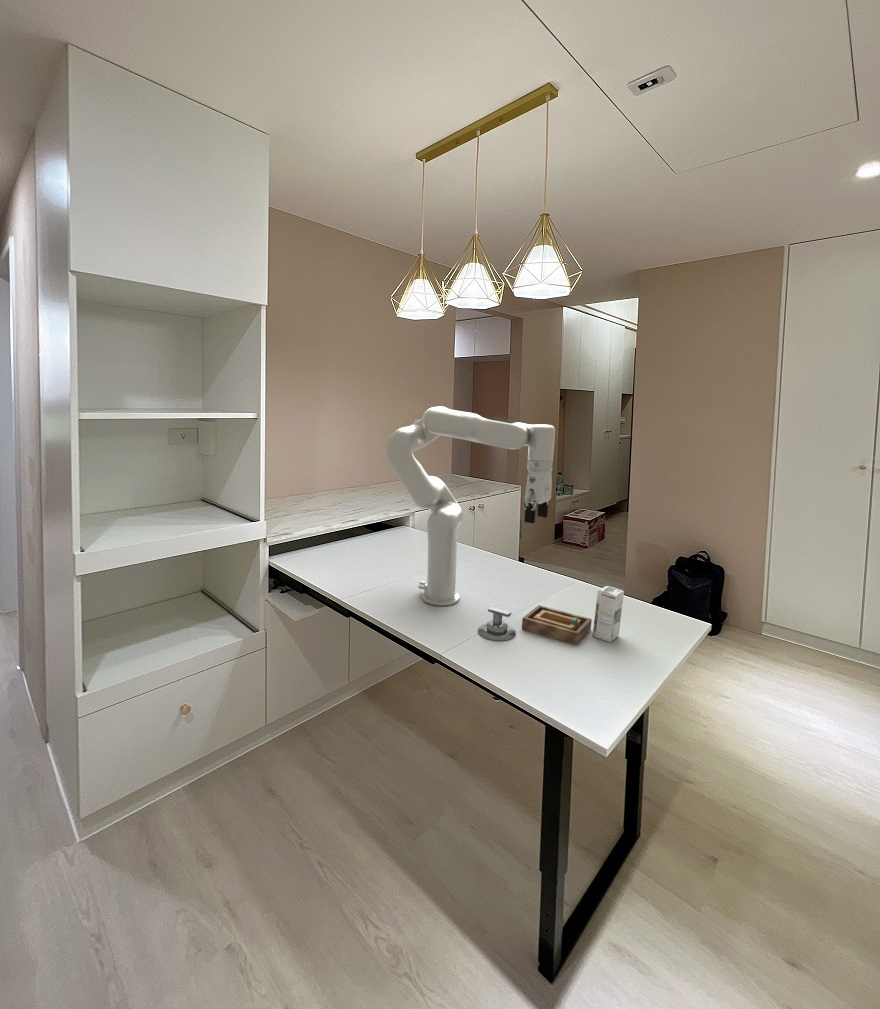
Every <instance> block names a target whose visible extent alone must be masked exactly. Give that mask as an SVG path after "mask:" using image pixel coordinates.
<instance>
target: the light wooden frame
mask: <svg viewBox="0 0 880 1009" xmlns="http://www.w3.org/2000/svg"><path fill="white" fill-rule="evenodd" d="M533 619H534V620H537V621H541V622H544V623H548V624H552V625H555V626H559V627H562V628H566V629H569V630H573V631H577V630H578V629H579V627H580V622H581V620H579V619H578V618H576V617H573V618H572V617H568V616H564V615H561V614H557V613H553V612H550V611H546V610H542V611H541V612H540V613H538V614H537V615H536V616H534V617H533Z"/></svg>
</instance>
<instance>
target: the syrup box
mask: <svg viewBox="0 0 880 1009" xmlns="http://www.w3.org/2000/svg"><path fill="white" fill-rule="evenodd" d="M596 594H597V595H596V602H595V603H596V604H595V612H594V621H593V628H592V629H593V630H592V637H593V638H596V639H599V640H603V641H606V642H608V643H612V642H613V641H614V640H615V639H617V638H618V637H619V634H620V626H621V620H622V618H621V617H622V611H623V603H624V602H623V601H624V597H625V596H624V595H625V591H624V590H622V589H619V588H616V587H613V586H608V585H605V586H603V587H602V588H601V589H599V590H597V593H596Z"/></svg>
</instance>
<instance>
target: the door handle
mask: <svg viewBox="0 0 880 1009" xmlns="http://www.w3.org/2000/svg"><path fill="white" fill-rule="evenodd" d="M487 612H488V613H492V620H489V621H487V622H486V623H484V624H482V625H480V626H479V627H478V628H477V633H478V635H479V636H480V637H482V638H484V639H485V640H489V641H493V642H506V641H510V640H513V639H514V638H515V637H516V634H517V633H516V629H515V628H514V627H512V626H510V625H508V623H507V622H506V621H503V617H505V618H506V617H507V618H509V617H511V615H512V612H511V611H507V610H504V609H500V608H497V607H493V606H491V607H488V608H487Z"/></svg>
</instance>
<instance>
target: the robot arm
mask: <svg viewBox="0 0 880 1009" xmlns="http://www.w3.org/2000/svg"><path fill="white" fill-rule="evenodd" d="M441 436H442V437H449V438H453V439H459V440H465V441H469V442H473V443H478V444H482V445H486V446H492V447H495V448H501V449H507V450H519V449H521V448H523V447H528V449H527V450H528V451H527V452H528V453H527V465H526V466H527V467H526V470H527V471H528V472H527V479H526V483H525V484H526V486H525V496H524V498H523V500H524V523H529V524H535V523H536V512H537V517H539V518H540V517H541V518H547V517H548V513H549V512H548V511H549V504H550V500H551V499H552V490H553V489H552V486H553V478H552V477H553V474H552V471H553V461H554V460H553V459H554V451H555V450H554V449H555V439H556V438H555V436H556V428H555V427H554V426H553V425H551V424H541V423H540V424H529V423H524V422H513V423H510V422H509V423H508V422H504V421H499V420H492V419H489V418H485V417H482V416H481V415H479V414H478V413H475V412H474V413H473V412H468V411H462V410H456V409H450V408H448V407H446V406H442V405H441V406H432V407H430V408H428V409H427V410H426V411H425V412H424V413H423V415H422V417H421V418H420V419H419V420H417V421H416V422H414V423H412V424H411V425H409V426H403V427H400V428H398V429H396V430H395V431H393V433H392V434H391V435H390V437H389V439H388V441H387V444H386V446H385V447H386V450H385V453H386V458H387V462H388V464H389V466H390V468H391V470H392V471H393V472H394V473H395V475H396V477H397V478H398V480H399V481H400V483H401V484H402V486H403V488H404V489H405V490H406V492H407V494H408V495H409V497H410V498H411V500H412V501H413V503H414V504H415V505H416V506H417V507H419V508H420V509H429V510H430V511H431V513H430V514H429V517H428V519H427V524H426V533H427V574H426V576H427V577H426V578H427V580H426V581H424V580H421V581H419V583H418V584H419V585H418V586H417V587H418V589H420V590H423V593H422V595H421V596H422V598H421V600H422V601H424V602H425V603H427V604H429V605H432V606H438V607H439V606H441V607H443V606H445V607H447V606H451V605H455V604H457V603H458V602H459V601H460V599H461V597H460V594H459V593H458V592H456V579H457V578H456V577H457V557H458V556H457V551H458V549H457V548H458V543H457V540H458V539H457V531H458V530H457V529H458V528H459V527H460V526H461V525H462V522H463V518H464V512H463V510H462V508H461V505H459V503H458V502H457V500H456V498H455V497H454V495H453V493H452V492H451V491H450V489H449V487H448V486H447V485H446V483H445V482H444V481H443V480H441V479H440V478H439V477H438V476H434V475H428V474H427V472H426V471H425V469H424V468H423V466H422V464H421V463H420V462H419V461H418V460H417V459H416V457H415V456H414V452H417V451H419V450H421V449H424V448H425V447H426V446H428V445H429V444H431V443H432V442H434V441H435V440H437V439H439V437H441ZM536 506H537V511H536Z"/></svg>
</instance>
